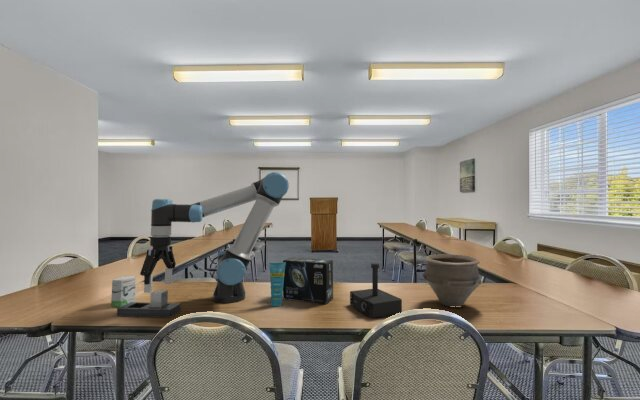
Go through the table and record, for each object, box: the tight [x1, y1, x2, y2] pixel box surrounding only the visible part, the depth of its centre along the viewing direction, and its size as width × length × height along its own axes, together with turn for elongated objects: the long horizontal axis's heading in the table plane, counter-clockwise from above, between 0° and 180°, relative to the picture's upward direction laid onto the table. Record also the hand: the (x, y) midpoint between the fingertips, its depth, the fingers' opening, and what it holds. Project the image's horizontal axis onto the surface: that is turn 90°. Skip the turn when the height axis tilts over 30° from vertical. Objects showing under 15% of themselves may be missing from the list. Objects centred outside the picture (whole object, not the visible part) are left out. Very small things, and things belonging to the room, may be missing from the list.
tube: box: [268, 261, 286, 307], centre depth 133 cm, size 7×5×19 cm, turn 103°
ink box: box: [110, 275, 137, 308], centre depth 133 cm, size 9×5×12 cm, turn 171°
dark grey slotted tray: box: [116, 301, 182, 319], centre depth 121 cm, size 22×8×3 cm, turn 86°
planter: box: [422, 253, 483, 307], centre depth 135 cm, size 25×24×22 cm
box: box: [282, 257, 334, 305], centre depth 143 cm, size 23×10×19 cm, turn 68°
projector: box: [349, 262, 403, 319], centre depth 128 cm, size 19×17×20 cm
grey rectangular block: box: [149, 289, 169, 309], centre depth 121 cm, size 4×4×9 cm
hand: (158, 287), depth 121 cm, fingers open, 13 cm apart
